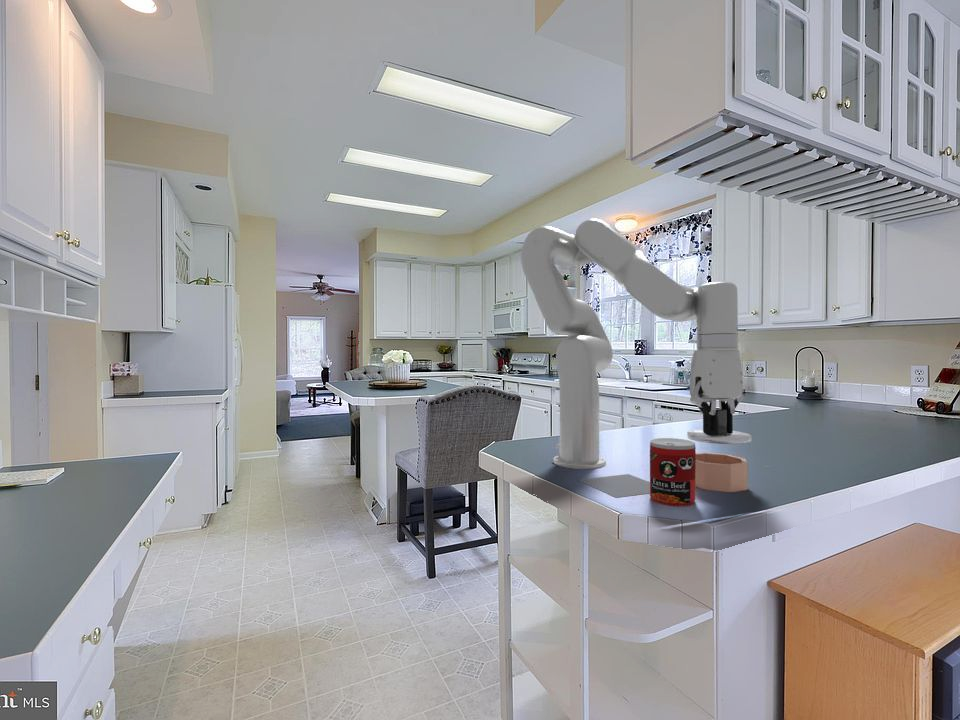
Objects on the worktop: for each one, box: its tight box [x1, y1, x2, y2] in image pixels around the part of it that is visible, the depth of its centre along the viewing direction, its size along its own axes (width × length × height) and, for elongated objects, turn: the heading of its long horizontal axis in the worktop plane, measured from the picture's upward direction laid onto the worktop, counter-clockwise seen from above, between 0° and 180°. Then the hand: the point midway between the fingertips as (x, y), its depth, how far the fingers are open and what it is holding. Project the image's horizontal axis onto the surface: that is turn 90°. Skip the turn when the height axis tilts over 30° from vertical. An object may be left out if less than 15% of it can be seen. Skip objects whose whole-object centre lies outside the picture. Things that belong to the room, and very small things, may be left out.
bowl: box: [695, 452, 749, 493], centre depth 95 cm, size 11×11×6 cm
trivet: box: [577, 473, 650, 499], centre depth 94 cm, size 13×13×1 cm
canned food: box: [649, 437, 697, 507], centre depth 85 cm, size 8×8×11 cm
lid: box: [686, 408, 752, 445], centre depth 95 cm, size 12×12×6 cm
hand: (717, 432), depth 95 cm, fingers closed on lid, 3 cm apart
